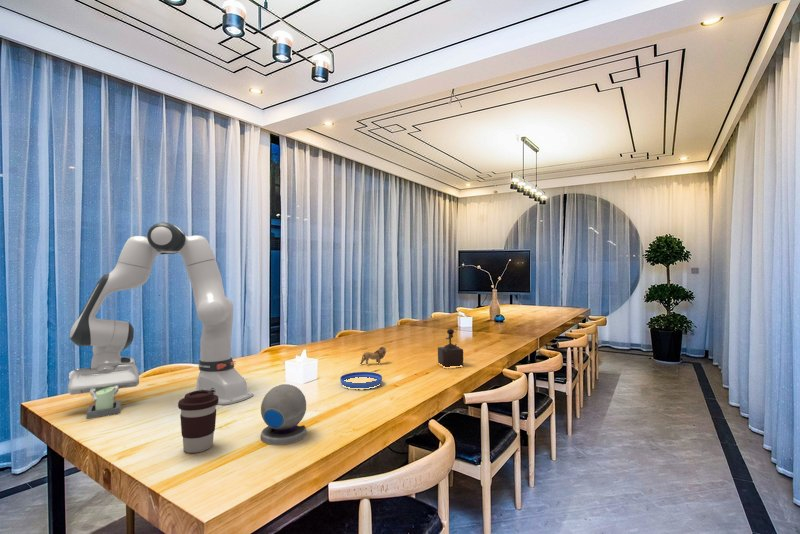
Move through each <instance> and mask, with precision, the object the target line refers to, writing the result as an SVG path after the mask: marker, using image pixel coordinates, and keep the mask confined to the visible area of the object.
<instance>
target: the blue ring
mask: <svg viewBox="0 0 800 534" xmlns="http://www.w3.org/2000/svg"><path fill="white" fill-rule="evenodd" d="M355 377H358V378H359V377H367V378H369V377H370V378H374V379H377V380H376V381H372V382H366V383H352V382H346V381H344V380H346V379H347V380H348V379H350V378H355ZM339 380H340V384H341V386H342V385H344V386H346V387H350V388H369V387H374V386H377V385H379V384H380V383H381V384H382V381H383V376H382V374H380V373H376V372H373V371H371V372H370V371H356V372H348V373H345V374H343V375H341V376H340V379H339Z"/></svg>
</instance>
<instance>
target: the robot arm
mask: <svg viewBox="0 0 800 534" xmlns="http://www.w3.org/2000/svg"><path fill="white" fill-rule="evenodd" d="M146 235H147V236H142V235H134V236H130V237H129V238H128V239H127V240H126V242H125V243H124V246H123V248H122V250H121V252H120V254H119V256H118V259H117V263H116V265H115V267H114V268H113V269H112V270H111V271H110V272H108V273H106V274H104V275H102V276H101V277H100V279H99V280H98V281H97V283H96V285H95V287H94V288H93V290H92V292H91V293H90V296H89V297H88V299H87V301H86V303H85V305H84V307H83V308H82V310H81V312H80V314H79V316H78V317H77V318H76V321H75V322H74V323H73V325H72V326H71V329H70V331H69V339H70V341H71V342H72V343H73V344H74V345H76V346H78V347H92V354H93V355H92V357H91V362H90V363H91V364H90V367H84V368H74V370H72V371H70V372H69V373H68V380H69V381H68V384H67V392H68V394H70V395H72V396H73V395H81V394H89V393H90V396H91V397H92V398H93V403H96V393H97V392H98V391H100V390H102V389H104V388H107V387H114V395H113V399H114V400H115V396H116V395H117V394H118V392H119V389H126V388H134V387H135V388H136V387H137V386H139V384H140V375H139V374H140V373H139V369H138V367H137V365H136V360H135V358H134V357H128V356H123V355H121V352H122V351H124V350H126V349H127V348H129V346H130V345H131V344H133V341H134V336H135V334H134V333H135V329H134V327H133V325H132V323H130V322H129V321H126V320H117V319H105V318H97V317H96V316H97V314H98V312H99V310H100V308H101V306H102V304H103V302H104V301H105V299H106V298H107V297H108V296H109V295H111V294H112V293H116V292H119V291H129V290H132V289H133V290H134V289H137V288H139V287H141V286H143V285H145V284H146V283H147V282H148V280H149V279H150V277H151V276H150V275H151V273H152V268H153V265H154V263H155V259H156V258H157V256H158V255H173V254H179V255H180V256H181V258H182V260H183V263H184V267H185V269H186V272H187V275H188V278H189V280H190V285H191V288H192V294H193V300H194V304H195V309H196V315H197V318H198V320H199V321H200V323H202V331H201V336H200V344H199V345H200V347H199V348H200V351H199V352H200V355H199V356H200V359H199V361H198V370H199V373H198V376H197V378H196V386H195V391H198V390H209V391H212V392H213V394H214V395H217V396H218V404H217V405H222V406H223V405H232V404H236V403H239V402H242V401H245V400H247V399H250V398H252V397H253V396H254V392H253V391H251V390H248V385H247V380H246V378H245V377H243V376H242V375H241V374H240V372H238V371H237V369H236V368H235V365H236V362H237V361H236V360H235V361H234V359H233V357H232V334H233V333H232V332H233V322H234V320H233V319H234V304H233V301H231V299H230V298H229V297H227V296H226V293H225V289H224V284H223V279H222V274H221V270H220V268H219V266H218V263H217V260H216V257H215V254H214V250H213V249H212V247H211V245H210V243H209V241H208V240H207V238H206V237H205V236H203V235H197V234H196V235H195V234H194V235H186V234H185V232H184V231H183V230H182V229H180V228H179V227H178V226H176V225H174V224H171V223H169V222H158V223H154V224H153V225H152V226H150V228H149V229H148V231H147V234H146Z"/></svg>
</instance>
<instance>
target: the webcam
mask: <svg viewBox="0 0 800 534" xmlns="http://www.w3.org/2000/svg"><path fill="white" fill-rule="evenodd" d="M306 410H307V400H306V396H305V394H304V392H303V391H302V390H301V389H300V388H298V387H297V386H295V385H292V384H287V383H285V384H279V385H277V386H274V387H272V388H271V389H270V390H269V391H267V393H265V395H264V397H263V399H262V401H261V405H260V415H261V418H262V419H263V422H264V423H265V424H266V425H267V426H266V427H264V428H263V429H262V430H261V432H260V441H262V442H263V443H265V444H268V445H273V446H274V445H275V446H280V445H281V446H283V445H288V444H293V443H296V442H299V441H302V439H304V438H305V437H307V427H306V426H305V425H298V424H300V423H301V421H302V420H303V419H304V416H305V415H306V412H307V411H306Z"/></svg>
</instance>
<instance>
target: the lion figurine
mask: <svg viewBox="0 0 800 534" xmlns="http://www.w3.org/2000/svg"><path fill="white" fill-rule="evenodd" d="M386 349H387V348H386V347H384V346H381V347H378V349H376V350H375V351H374V352H369V351H366V352H364V353H363V354H362V357H361V359H360V363H359V364H361V365H362V363H364V362H365V364H366V365H367V364H369V360H375V361H376V362H378V363H380V364H381V360H383V359H384V357H386V354H387V353H386V352H387V351H386ZM376 362H375V363H376Z"/></svg>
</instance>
